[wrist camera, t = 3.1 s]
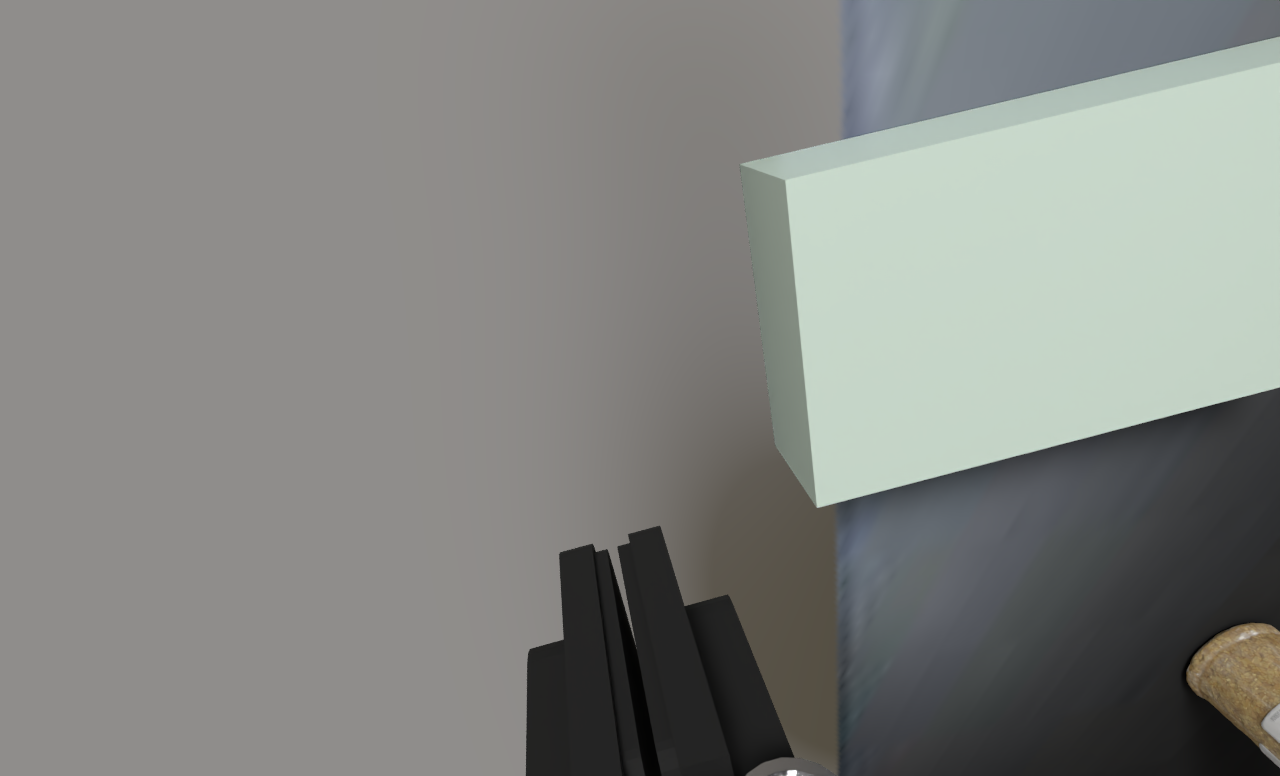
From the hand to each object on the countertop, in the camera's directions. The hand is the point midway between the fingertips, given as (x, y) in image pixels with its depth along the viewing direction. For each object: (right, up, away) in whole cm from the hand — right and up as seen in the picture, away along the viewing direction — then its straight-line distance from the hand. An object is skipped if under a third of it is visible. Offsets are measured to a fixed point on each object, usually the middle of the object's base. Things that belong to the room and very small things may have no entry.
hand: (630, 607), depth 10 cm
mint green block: (+11, +8, +9) cm, 16 cm away
